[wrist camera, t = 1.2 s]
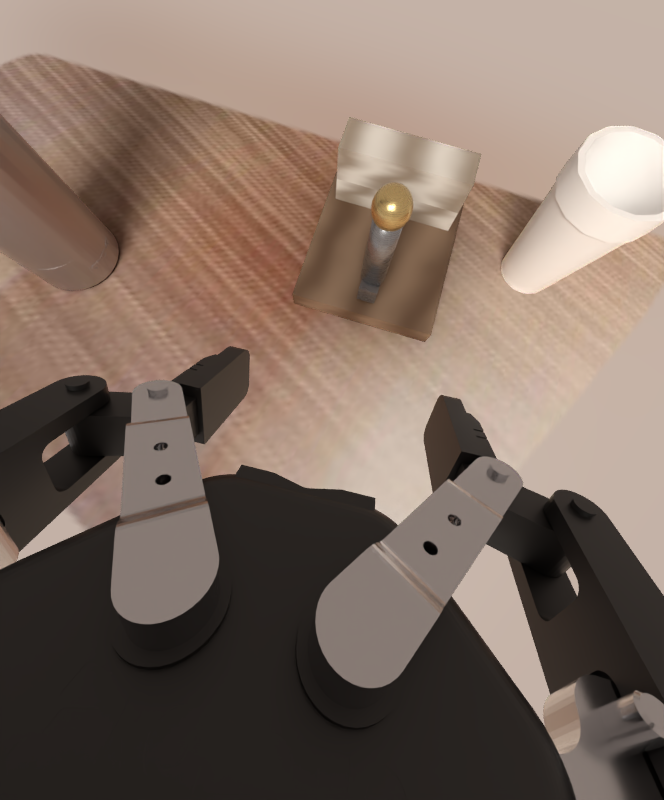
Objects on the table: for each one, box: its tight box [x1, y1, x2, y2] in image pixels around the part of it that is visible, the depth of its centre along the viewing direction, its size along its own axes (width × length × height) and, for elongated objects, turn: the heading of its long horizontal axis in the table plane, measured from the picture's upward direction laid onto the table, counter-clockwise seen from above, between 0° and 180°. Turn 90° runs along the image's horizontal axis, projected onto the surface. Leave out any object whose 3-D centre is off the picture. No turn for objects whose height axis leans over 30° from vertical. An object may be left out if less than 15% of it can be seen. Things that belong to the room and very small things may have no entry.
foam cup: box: [501, 126, 664, 294], centre depth 30 cm, size 10×9×13 cm
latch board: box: [293, 117, 481, 342], centre depth 32 cm, size 16×18×8 cm
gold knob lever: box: [357, 182, 413, 304], centre depth 28 cm, size 3×9×12 cm, turn 163°
